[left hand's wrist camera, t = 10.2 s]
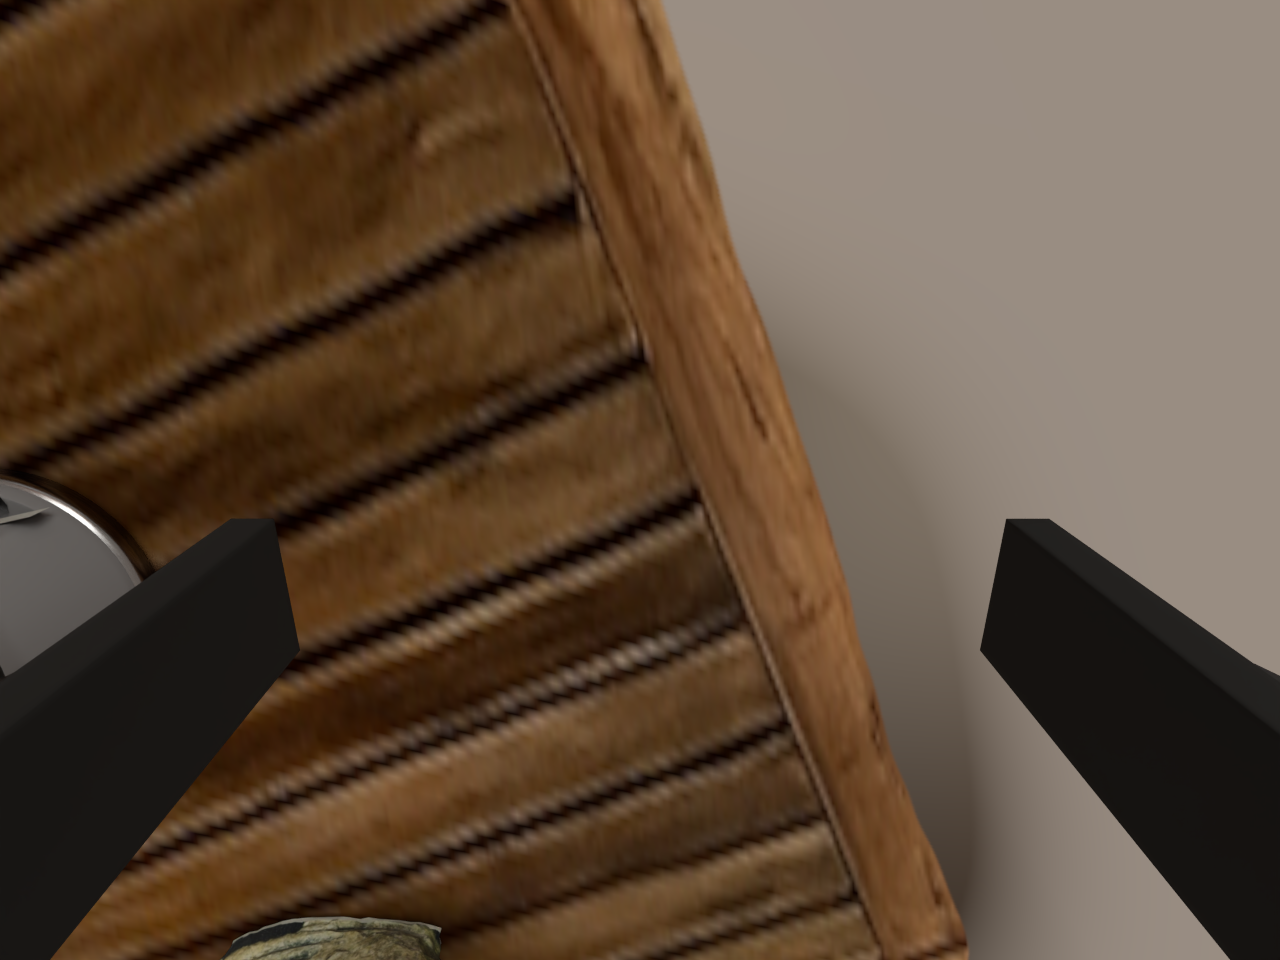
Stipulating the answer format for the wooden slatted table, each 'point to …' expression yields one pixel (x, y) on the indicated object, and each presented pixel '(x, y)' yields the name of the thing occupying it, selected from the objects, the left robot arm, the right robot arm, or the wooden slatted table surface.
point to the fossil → (339, 940)
